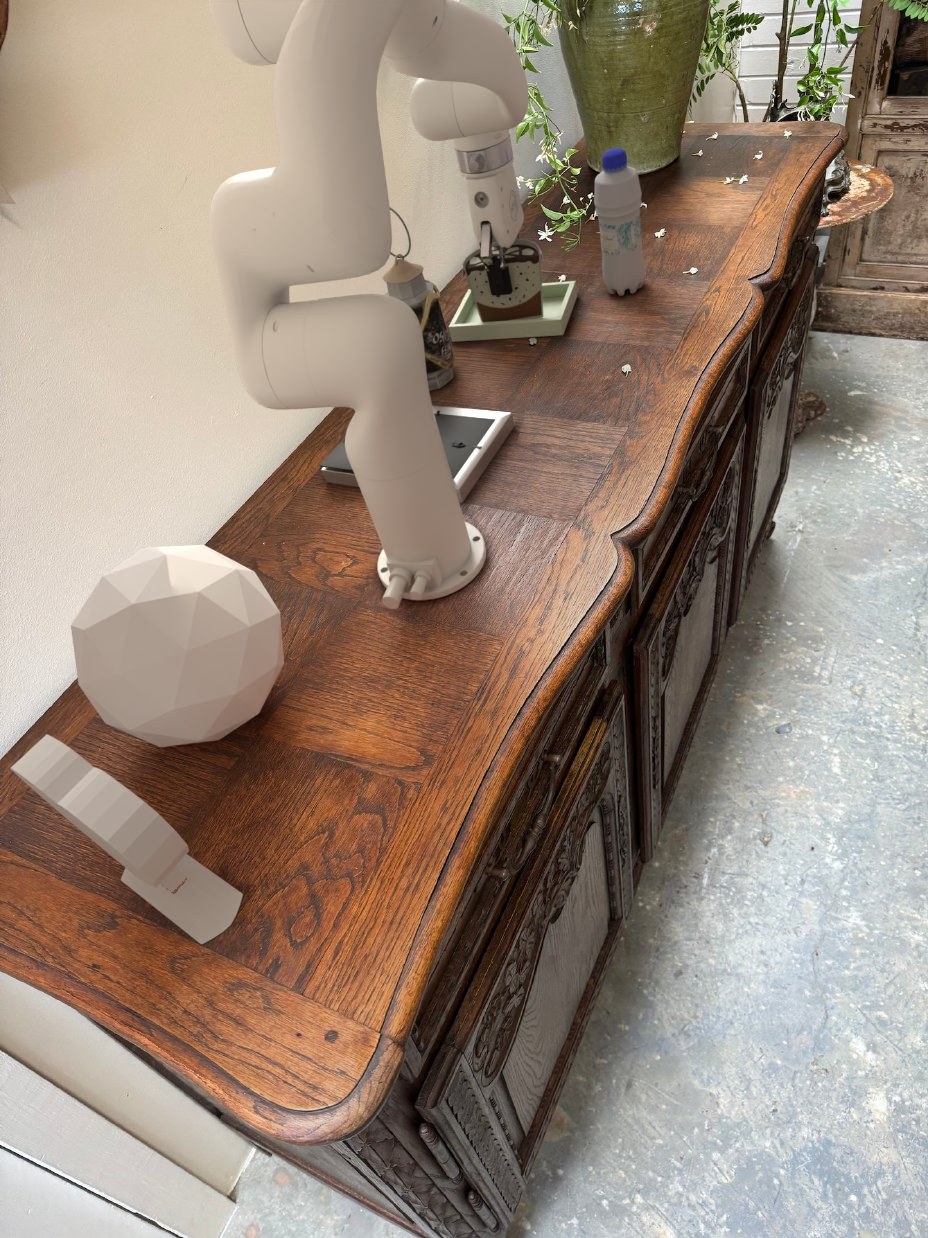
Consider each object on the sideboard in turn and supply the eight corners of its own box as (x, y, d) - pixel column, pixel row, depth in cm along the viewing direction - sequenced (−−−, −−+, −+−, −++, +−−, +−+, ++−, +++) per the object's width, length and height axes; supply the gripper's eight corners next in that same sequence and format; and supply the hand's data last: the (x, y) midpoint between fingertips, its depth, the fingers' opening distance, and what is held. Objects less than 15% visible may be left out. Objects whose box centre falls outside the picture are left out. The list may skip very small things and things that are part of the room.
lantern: (471, 371, 122) (429, 195, 104) (433, 400, 119) (383, 223, 101) (430, 358, 127) (383, 188, 109) (392, 386, 124) (338, 215, 106)
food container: (554, 295, 130) (544, 230, 123) (553, 314, 126) (543, 249, 119) (476, 308, 133) (463, 245, 126) (473, 327, 128) (458, 264, 121)
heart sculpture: (258, 905, 71) (157, 794, 58) (216, 957, 68) (102, 853, 56) (148, 826, 79) (38, 714, 66) (107, 870, 77) (-15, 762, 64)
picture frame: (326, 482, 111) (462, 502, 102) (319, 465, 109) (457, 484, 100) (383, 413, 120) (514, 426, 110) (378, 395, 118) (511, 407, 108)
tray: (563, 335, 123) (561, 319, 122) (451, 341, 129) (448, 326, 128) (577, 295, 131) (575, 280, 129) (471, 303, 137) (468, 289, 135)
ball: (294, 725, 93) (347, 638, 77) (117, 810, 81) (139, 728, 65) (210, 589, 97) (245, 481, 82) (31, 651, 85) (32, 538, 70)
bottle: (594, 289, 131) (580, 153, 116) (631, 273, 132) (621, 135, 117) (618, 304, 126) (605, 163, 112) (655, 287, 127) (648, 146, 113)
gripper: (495, 178, 106) (519, 309, 119) (525, 126, 117) (544, 252, 130) (440, 185, 109) (469, 313, 122) (474, 134, 120) (498, 256, 132)
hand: (507, 280), depth 125 cm, fingers closed on food container, 6 cm apart
